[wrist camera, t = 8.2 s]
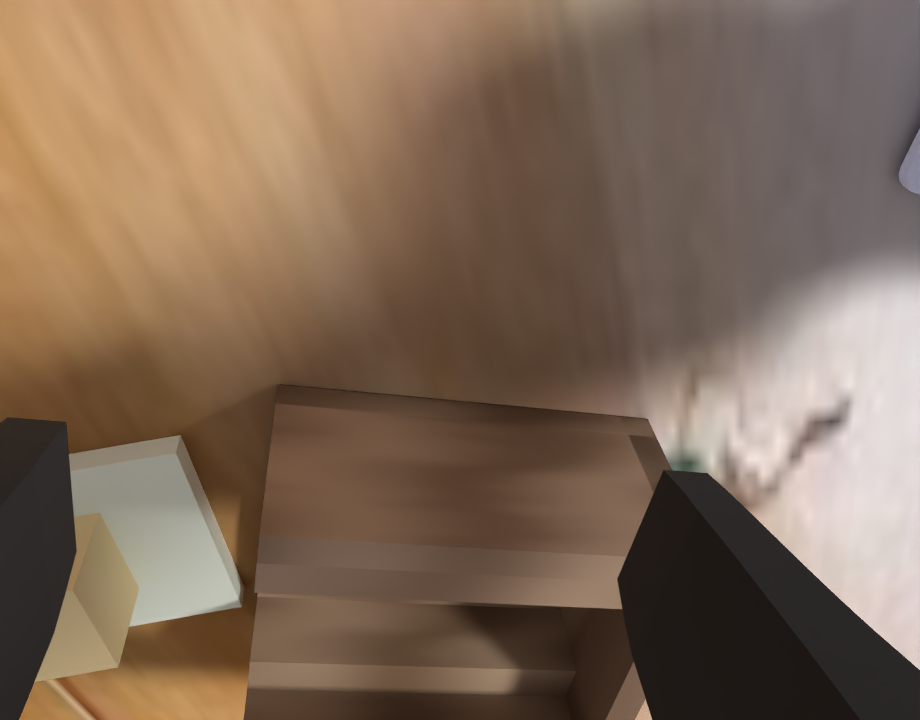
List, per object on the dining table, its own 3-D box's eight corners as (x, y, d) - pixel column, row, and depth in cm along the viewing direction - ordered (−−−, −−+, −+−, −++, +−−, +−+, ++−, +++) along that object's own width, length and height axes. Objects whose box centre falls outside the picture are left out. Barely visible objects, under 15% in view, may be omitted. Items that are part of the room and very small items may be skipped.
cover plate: (183, 423, 22) (156, 527, 19) (246, 575, 25) (231, 684, 22) (-120, 476, 22) (-198, 589, 19) (-16, 621, 25) (-67, 738, 22)
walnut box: (647, 418, 23) (715, 561, 19) (562, 631, 28) (601, 783, 23) (277, 384, 21) (259, 535, 17) (255, 619, 26) (237, 783, 21)
